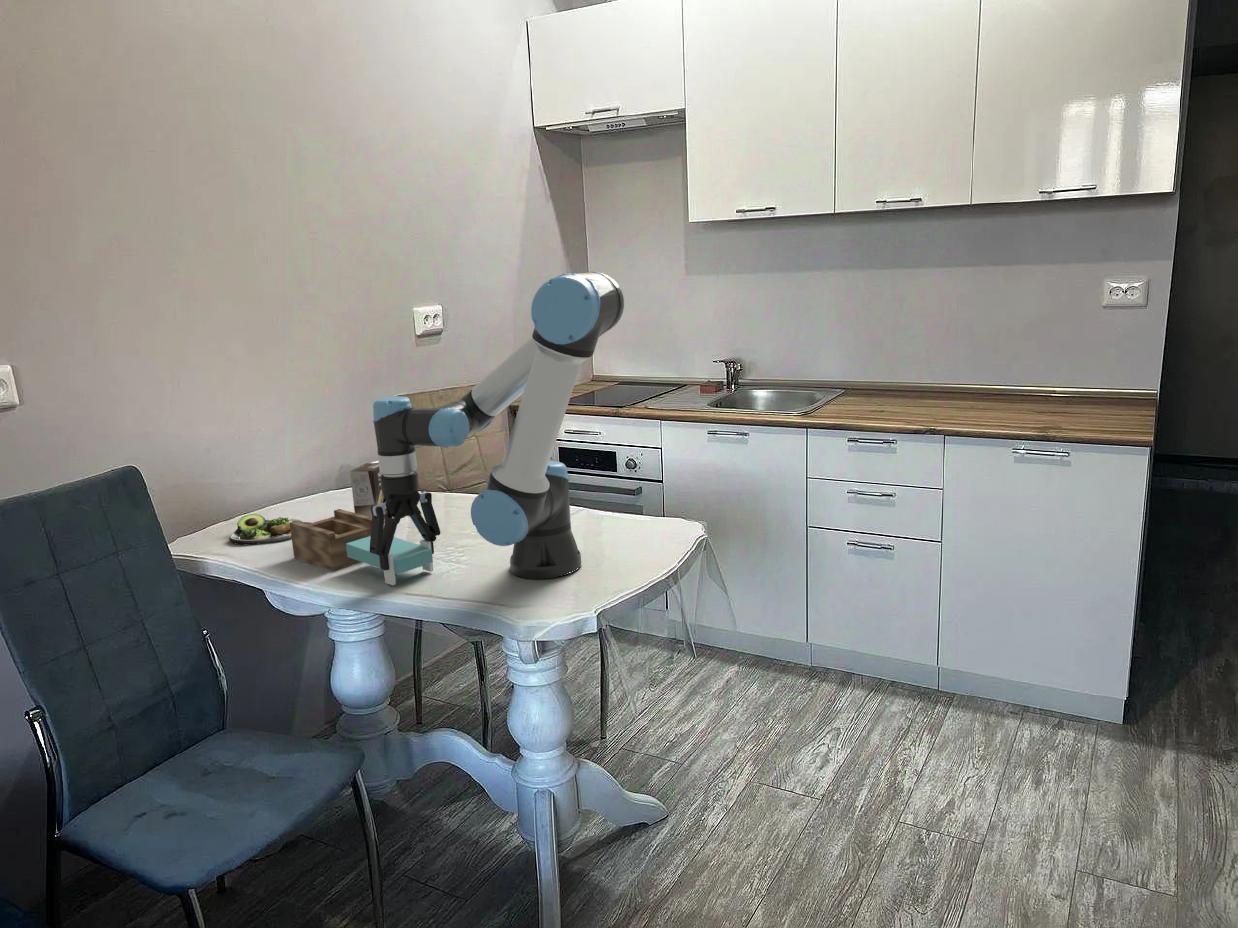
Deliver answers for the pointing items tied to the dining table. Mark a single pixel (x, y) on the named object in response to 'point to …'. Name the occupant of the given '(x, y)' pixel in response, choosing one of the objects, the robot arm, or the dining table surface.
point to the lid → (403, 553)
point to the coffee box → (366, 488)
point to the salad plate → (262, 529)
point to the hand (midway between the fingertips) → (409, 576)
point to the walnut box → (329, 539)
